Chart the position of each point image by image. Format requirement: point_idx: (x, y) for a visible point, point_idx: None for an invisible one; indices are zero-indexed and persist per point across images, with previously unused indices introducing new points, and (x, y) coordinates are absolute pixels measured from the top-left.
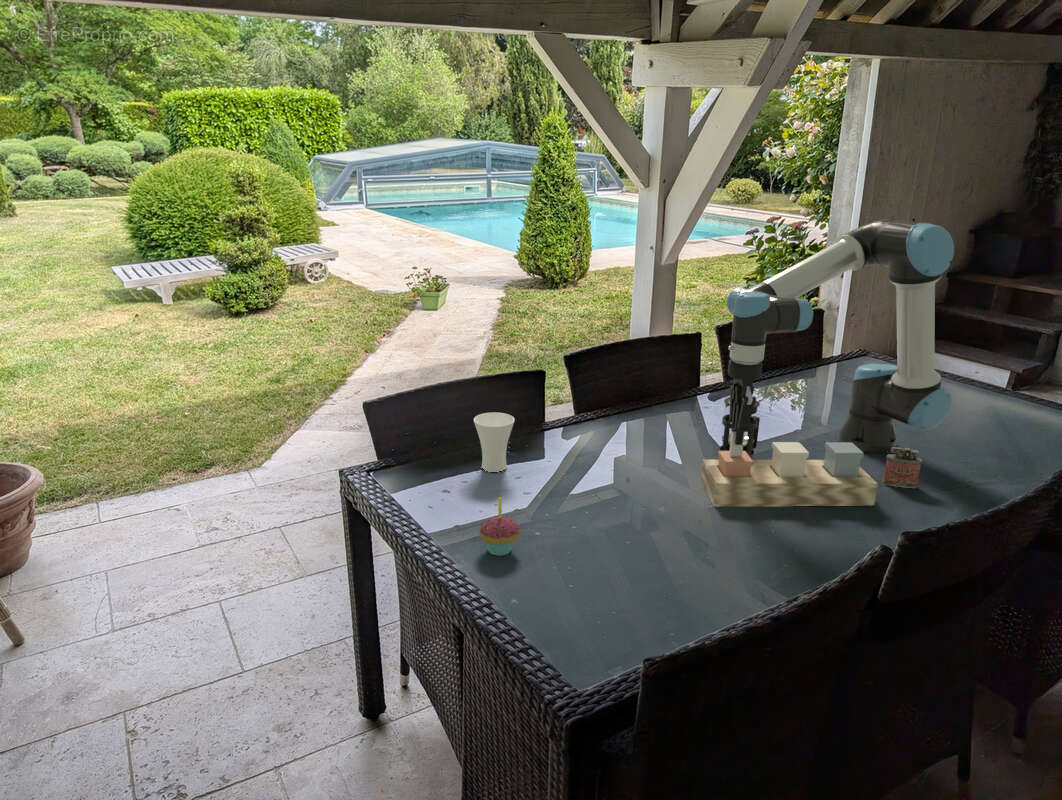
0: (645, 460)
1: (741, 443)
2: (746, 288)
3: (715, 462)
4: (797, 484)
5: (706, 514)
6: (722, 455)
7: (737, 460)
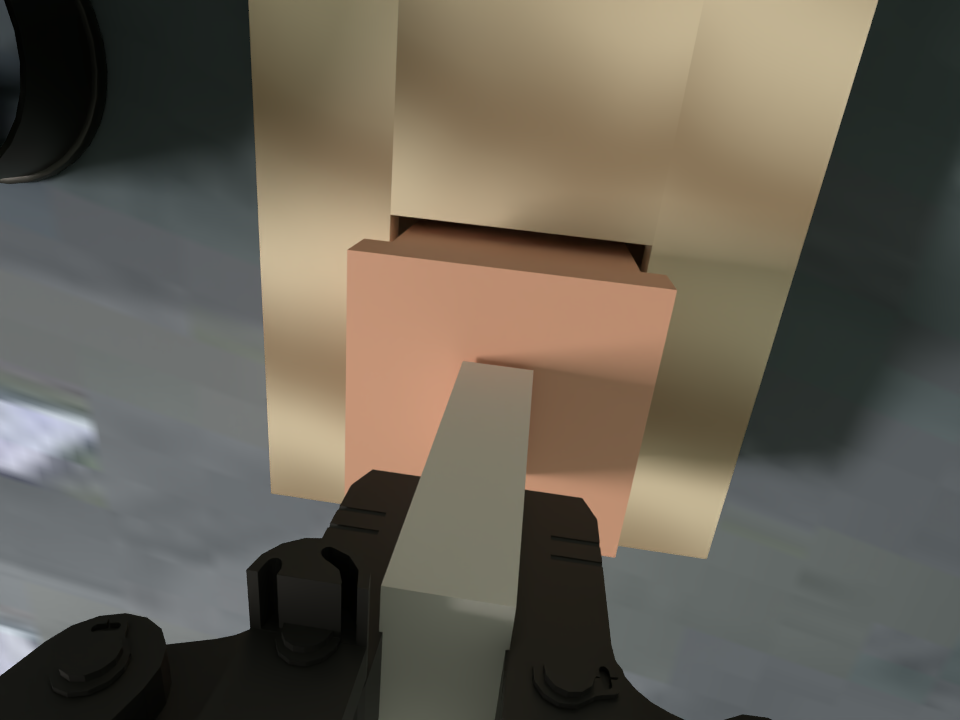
0: (77, 575)
1: (592, 526)
2: None
3: (326, 424)
4: None
5: (749, 526)
6: None
7: (608, 442)
